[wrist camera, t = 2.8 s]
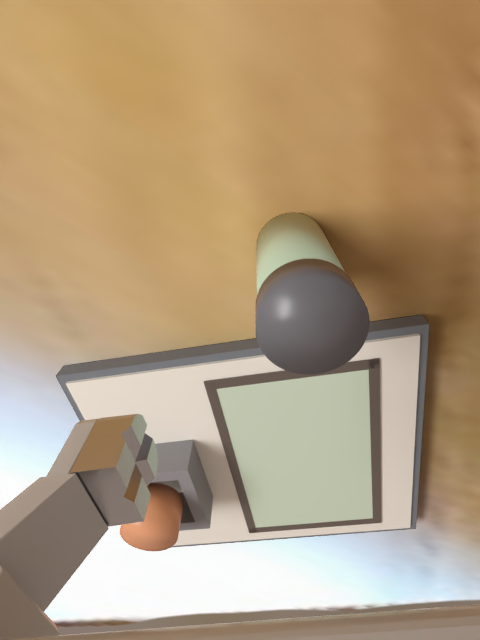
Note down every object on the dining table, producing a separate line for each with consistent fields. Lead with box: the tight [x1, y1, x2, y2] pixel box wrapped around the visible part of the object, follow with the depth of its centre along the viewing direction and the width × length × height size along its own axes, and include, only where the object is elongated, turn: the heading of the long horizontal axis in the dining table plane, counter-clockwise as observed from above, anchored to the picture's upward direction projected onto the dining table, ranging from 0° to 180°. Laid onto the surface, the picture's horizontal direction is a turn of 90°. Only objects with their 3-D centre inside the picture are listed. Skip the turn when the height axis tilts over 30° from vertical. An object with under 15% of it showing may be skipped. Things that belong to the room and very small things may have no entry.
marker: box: [256, 213, 370, 375], centre depth 15 cm, size 4×4×8 cm
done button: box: [120, 483, 184, 551], centre depth 23 cm, size 3×3×2 cm
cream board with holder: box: [56, 315, 429, 547], centre depth 24 cm, size 21×18×4 cm
